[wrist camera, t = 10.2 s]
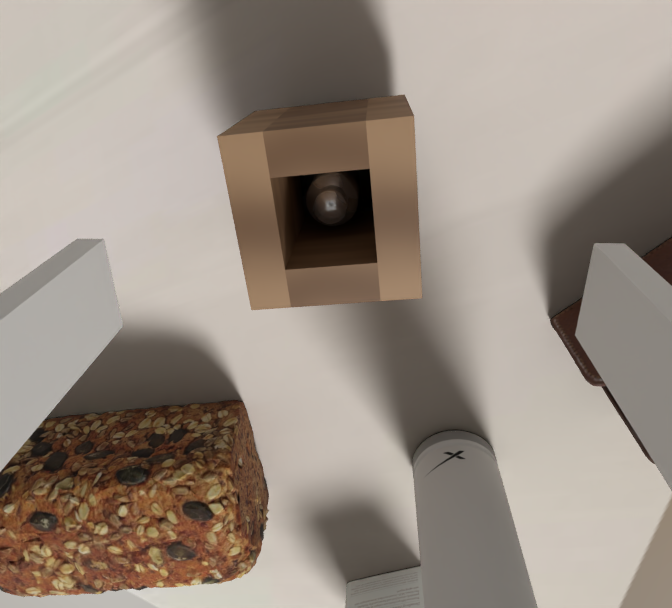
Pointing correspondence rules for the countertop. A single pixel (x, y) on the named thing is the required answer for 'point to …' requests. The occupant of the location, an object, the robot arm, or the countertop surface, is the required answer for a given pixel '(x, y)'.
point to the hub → (336, 195)
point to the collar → (305, 232)
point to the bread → (132, 501)
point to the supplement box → (387, 590)
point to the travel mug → (466, 527)
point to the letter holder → (667, 262)
